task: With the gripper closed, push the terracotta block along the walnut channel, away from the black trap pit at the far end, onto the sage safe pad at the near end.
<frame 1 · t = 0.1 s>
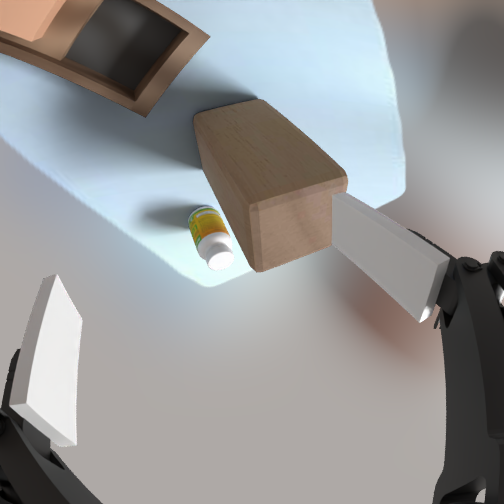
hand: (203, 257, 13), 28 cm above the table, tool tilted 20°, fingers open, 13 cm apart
clay block: (32, 2, 13), point 3 cm above the table, touching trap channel
supplement bottle: (202, 217, 49), on the table
block: (230, 133, 39), on the table
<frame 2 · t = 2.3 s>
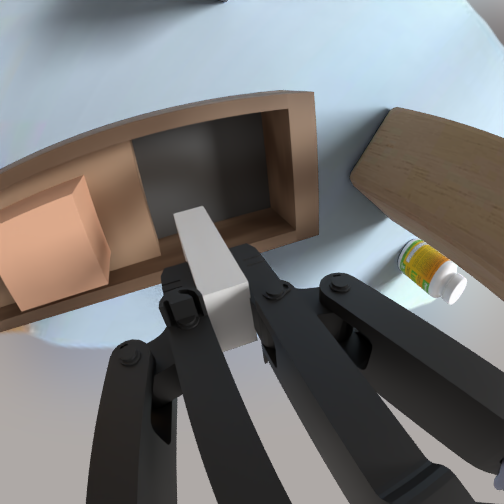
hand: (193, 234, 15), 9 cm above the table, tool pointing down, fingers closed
clay block: (54, 230, 17), point 3 cm above the table, touching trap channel
supplement bottle: (408, 253, 38), on the table
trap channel: (15, 233, 18), on the table
block: (390, 164, 29), on the table
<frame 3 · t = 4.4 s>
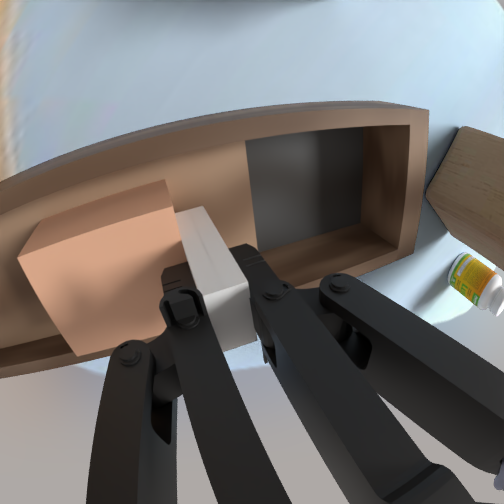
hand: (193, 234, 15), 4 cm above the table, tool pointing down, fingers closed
clay block: (116, 249, 15), point 3 cm above the table, touching gripper, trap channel
supplement bottle: (456, 266, 36), on the table
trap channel: (62, 245, 16), on the table
block: (454, 180, 27), on the table
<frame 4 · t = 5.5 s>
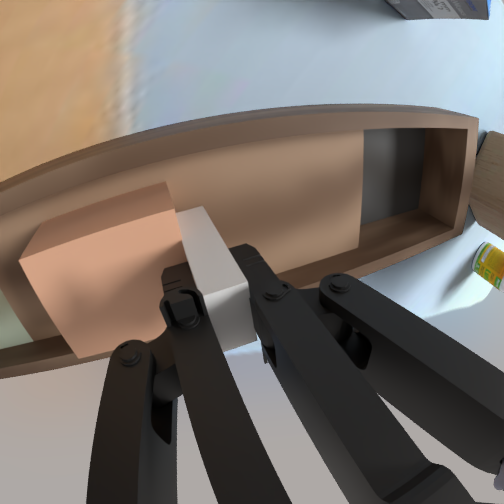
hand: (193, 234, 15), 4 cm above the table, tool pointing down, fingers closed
clay block: (117, 251, 15), point 3 cm above the table, touching gripper
supplement bottle: (479, 255, 38), on the table
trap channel: (172, 213, 18), on the table
block: (481, 177, 29), on the table
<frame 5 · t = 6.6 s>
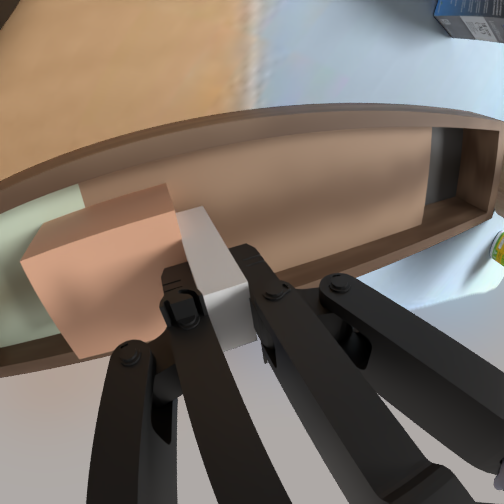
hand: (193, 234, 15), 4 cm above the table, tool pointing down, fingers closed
clay block: (118, 253, 15), point 3 cm above the table, touching gripper
supplement bottle: (495, 243, 40), on the table
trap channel: (282, 186, 20), on the table
block: (500, 172, 31), on the table
blue retail box: (447, 2, 16), on the table
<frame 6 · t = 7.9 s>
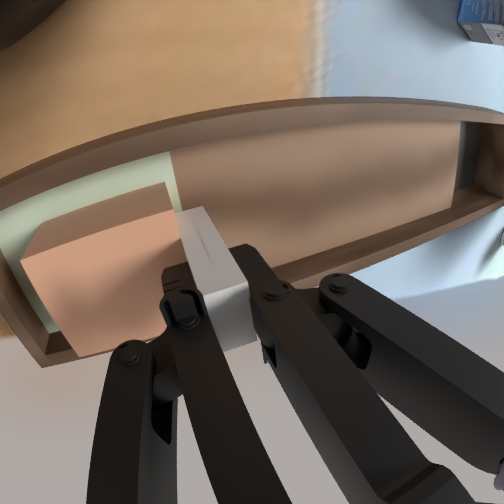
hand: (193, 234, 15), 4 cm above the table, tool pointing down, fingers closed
clay block: (117, 251, 15), point 3 cm above the table, touching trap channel
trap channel: (340, 168, 21), on the table
blue retail box: (467, 8, 17), on the table
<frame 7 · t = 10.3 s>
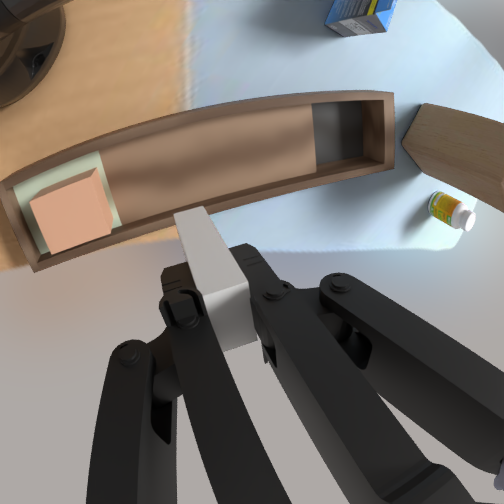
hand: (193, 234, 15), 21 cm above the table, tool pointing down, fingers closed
clay block: (76, 203, 27), point 3 cm above the table, touching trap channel
supplement bottle: (434, 202, 52), on the table
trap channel: (211, 152, 33), on the table
block: (422, 138, 43), on the table
blue retail box: (342, 9, 28), on the table
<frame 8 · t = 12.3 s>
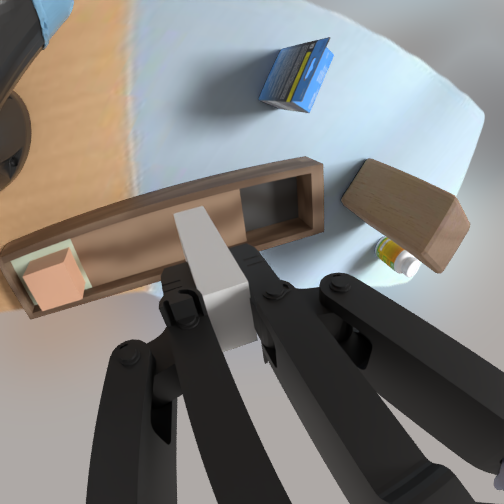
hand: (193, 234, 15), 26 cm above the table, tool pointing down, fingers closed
clay block: (57, 271, 35), point 3 cm above the table, touching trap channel
supplement bottle: (382, 245, 61), on the table
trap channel: (157, 228, 41), on the table
block: (366, 190, 52), on the table
blue retail box: (279, 78, 37), on the table
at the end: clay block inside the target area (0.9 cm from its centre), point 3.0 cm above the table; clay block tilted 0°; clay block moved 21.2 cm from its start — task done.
